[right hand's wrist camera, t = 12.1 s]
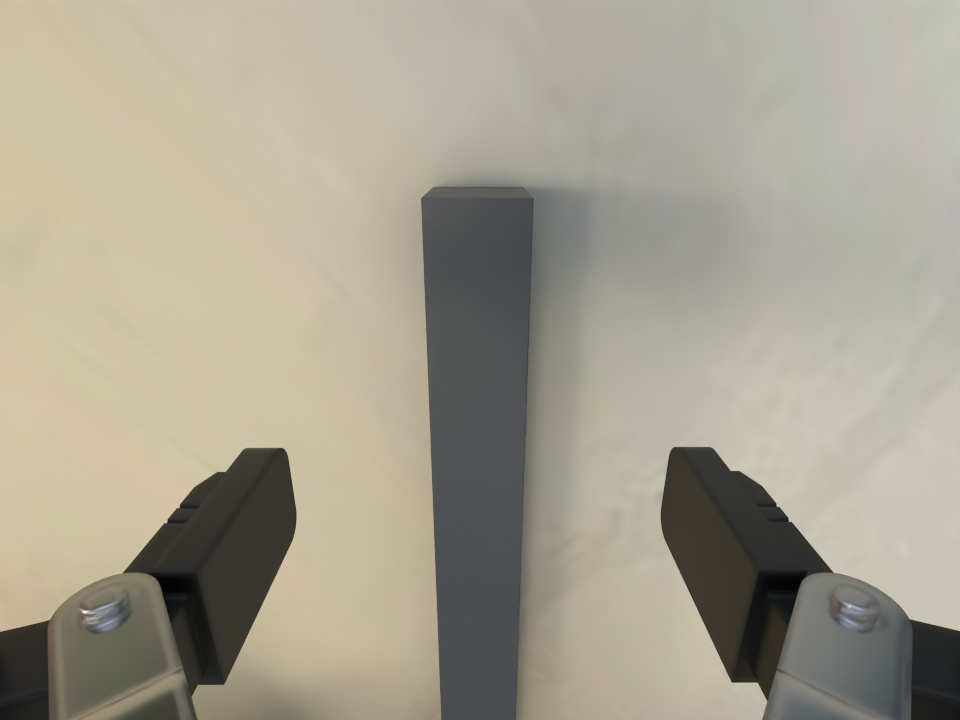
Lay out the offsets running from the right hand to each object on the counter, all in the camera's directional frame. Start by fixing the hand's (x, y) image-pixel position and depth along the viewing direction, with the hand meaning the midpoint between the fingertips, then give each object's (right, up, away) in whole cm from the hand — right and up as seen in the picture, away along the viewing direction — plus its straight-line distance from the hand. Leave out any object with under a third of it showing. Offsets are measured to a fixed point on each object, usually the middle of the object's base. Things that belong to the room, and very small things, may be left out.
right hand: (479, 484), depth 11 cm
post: (0, -23, +32) cm, 39 cm away
